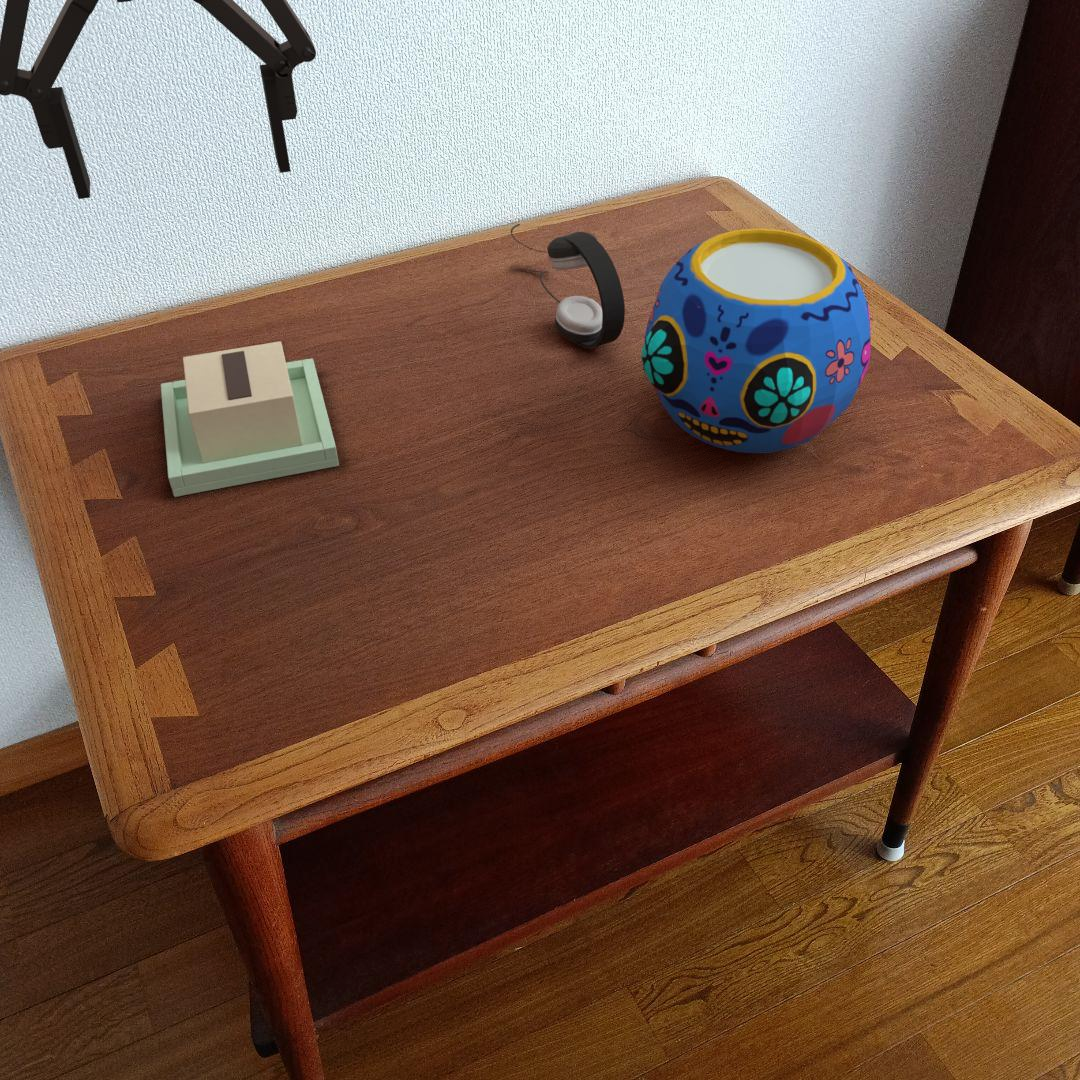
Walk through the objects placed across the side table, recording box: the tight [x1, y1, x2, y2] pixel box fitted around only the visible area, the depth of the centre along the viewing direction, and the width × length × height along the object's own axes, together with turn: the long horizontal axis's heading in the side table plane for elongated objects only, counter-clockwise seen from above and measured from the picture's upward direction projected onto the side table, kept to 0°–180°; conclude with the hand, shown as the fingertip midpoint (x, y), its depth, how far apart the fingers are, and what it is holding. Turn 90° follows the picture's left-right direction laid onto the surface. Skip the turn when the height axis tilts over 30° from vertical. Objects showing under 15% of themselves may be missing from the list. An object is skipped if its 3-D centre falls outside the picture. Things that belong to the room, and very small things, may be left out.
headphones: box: [510, 223, 626, 350], centre depth 102 cm, size 10×4×20 cm
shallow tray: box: [160, 357, 340, 498], centre depth 92 cm, size 13×13×2 cm
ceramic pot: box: [641, 227, 872, 454], centre depth 88 cm, size 18×18×15 cm
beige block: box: [182, 340, 303, 463], centre depth 90 cm, size 8×8×5 cm
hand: (185, 177), depth 78 cm, fingers open, 13 cm apart
